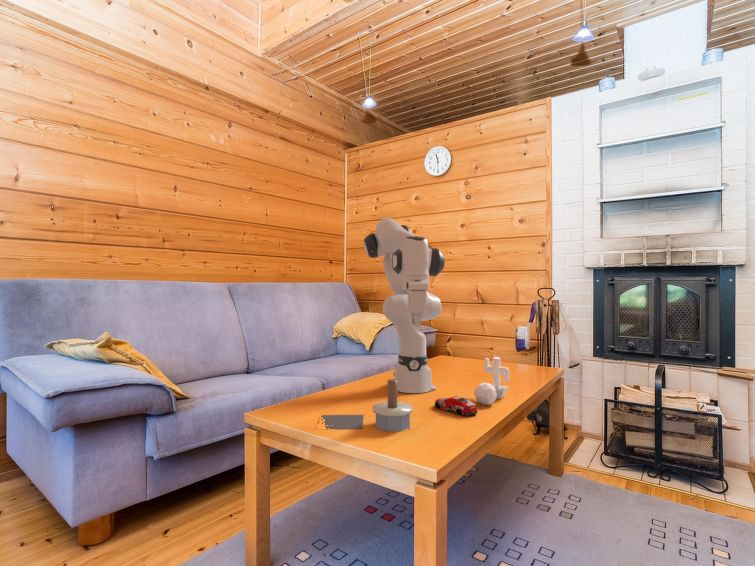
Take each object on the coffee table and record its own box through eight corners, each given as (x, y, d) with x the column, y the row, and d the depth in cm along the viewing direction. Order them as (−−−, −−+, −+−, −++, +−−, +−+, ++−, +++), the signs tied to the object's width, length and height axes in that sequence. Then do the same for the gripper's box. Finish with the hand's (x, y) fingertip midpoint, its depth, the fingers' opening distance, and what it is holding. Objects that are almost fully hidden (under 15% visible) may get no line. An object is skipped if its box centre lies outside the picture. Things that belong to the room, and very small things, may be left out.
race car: (430, 407, 150) (430, 393, 150) (444, 404, 154) (444, 391, 154) (466, 419, 137) (466, 403, 137) (480, 415, 141) (480, 400, 141)
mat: (320, 416, 140) (320, 415, 140) (363, 415, 140) (363, 414, 140) (314, 430, 126) (314, 429, 126) (362, 430, 126) (362, 429, 126)
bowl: (375, 421, 134) (375, 405, 134) (407, 421, 134) (407, 405, 134) (376, 432, 124) (376, 415, 124) (410, 432, 124) (410, 415, 124)
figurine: (506, 400, 158) (506, 360, 158) (481, 397, 163) (481, 357, 163) (511, 396, 164) (511, 357, 164) (487, 393, 169) (487, 355, 169)
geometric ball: (483, 413, 152) (473, 397, 149) (478, 399, 159) (468, 384, 157) (503, 403, 150) (492, 387, 148) (497, 390, 158) (487, 374, 155)
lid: (372, 404, 135) (372, 376, 135) (410, 404, 135) (410, 376, 135) (372, 416, 123) (372, 385, 123) (414, 416, 123) (414, 384, 123)
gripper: (404, 284, 153) (404, 323, 153) (409, 284, 132) (409, 329, 132) (421, 284, 153) (421, 323, 153) (429, 284, 132) (429, 329, 132)
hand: (416, 326), depth 142 cm, fingers open, 8 cm apart
